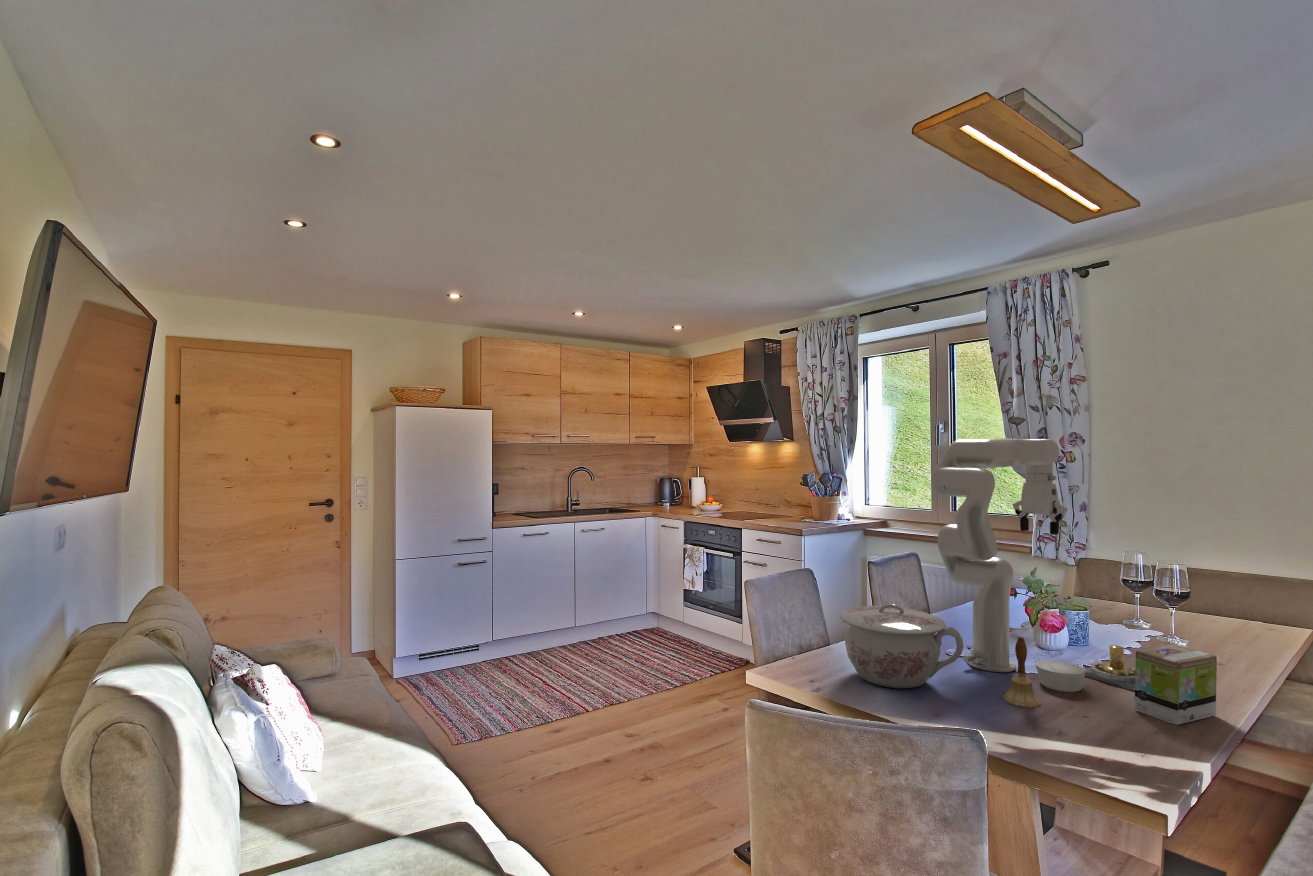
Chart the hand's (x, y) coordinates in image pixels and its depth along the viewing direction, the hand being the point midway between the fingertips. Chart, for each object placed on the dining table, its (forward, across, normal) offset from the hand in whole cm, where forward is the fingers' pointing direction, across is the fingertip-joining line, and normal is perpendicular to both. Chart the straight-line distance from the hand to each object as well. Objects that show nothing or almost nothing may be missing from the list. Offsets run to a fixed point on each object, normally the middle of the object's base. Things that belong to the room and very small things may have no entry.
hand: (1039, 532), depth 209 cm
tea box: (+37, -47, +21) cm, 63 cm away
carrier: (+36, -30, +8) cm, 48 cm away
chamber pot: (+36, -1, +65) cm, 75 cm away
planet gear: (+35, -27, +8) cm, 45 cm away
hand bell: (+37, -26, +47) cm, 65 cm away
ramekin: (+37, -24, +28) cm, 52 cm away
